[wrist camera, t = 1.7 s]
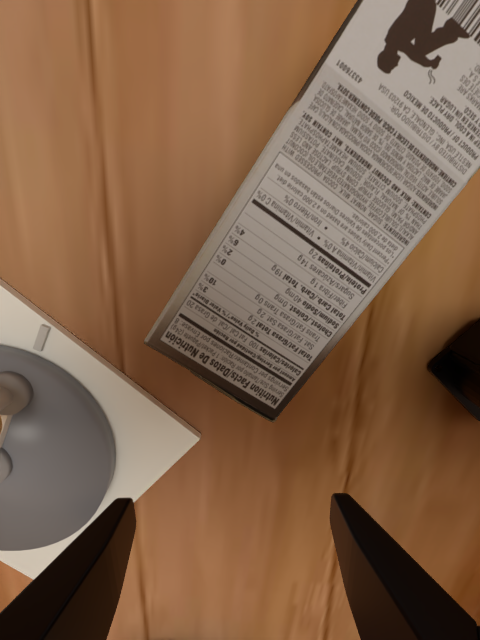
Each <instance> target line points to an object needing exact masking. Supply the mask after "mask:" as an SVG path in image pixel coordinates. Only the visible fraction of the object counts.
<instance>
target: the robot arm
mask: <svg viewBox="0 0 480 640" xmlns="http://www.w3.org/2000/svg"><path fill="white" fill-rule="evenodd" d="M438 365H439V367H438V368H437V369H435V367H436V366H438ZM428 370H429V371H430V372H431V373H432V374H433V375H434V376H435V377H436V378H437V379H438V381H439V382H440V383H441V384H442V385H443V386H444V387H445V388H446V389H447V390H448V391H449V392H450V393H451V394H452V395H453V396H454V397H455V398H456V399H457V400H458V401H459V402H460V403H461V404H462V405H463V406H464V407H465V408H466V409H467V410H468V411H469V412H470V413H471V414H472V415H473V416H474V417H475V418H476V419H477V420H478V421H480V320H479V321H478V322H477V323H476V324H475V325H473V326H472V327H471V328H470V329H469V330H468V331H466V332H465V333H464V334H463V335H462V336H460V337H459V338H458V339H457V340H456V341H455V342H453V343H452V344H451V345H450V346H449V347H447V348H446V349H445V350H444V351H443V352H441V353H440V354H439V355H438V356H437V357H436V358H434V359H433V360H432V361H431V362H430V363H429V365H428ZM330 525H331V530H332V534H333V539H334V543H335V547H336V552H337V556H338V561H339V565H340V569H341V574H342V578H343V582H344V587H345V591H346V595H347V598H348V601H349V605H350V608H351V611H352V614H353V617H354V620H355V623H356V626H357V629H358V633H359V636H360V639H361V640H480V626H477V624H476V622H475V620H474V619H473V618H472V617H471V616H470V615H469V614H468V613H467V612H466V611H465V610H464V609H463V608H462V607H461V606H460V605H459V604H458V603H457V602H456V601H455V600H454V599H453V598H452V597H451V596H450V595H449V594H448V593H447V592H446V591H445V590H444V589H443V588H442V587H441V586H440V585H439V584H438V583H437V582H436V581H435V580H434V579H433V578H432V577H431V576H430V575H429V574H428V573H427V572H426V571H425V570H424V569H423V568H422V567H421V566H420V565H419V564H418V563H417V562H416V561H415V560H414V559H413V558H412V557H411V556H410V555H409V554H408V553H407V552H406V551H405V550H404V549H403V548H402V547H401V546H400V545H399V544H398V543H397V542H396V541H395V540H394V539H393V538H392V537H391V536H390V535H389V534H388V533H387V532H386V531H385V530H384V529H383V528H382V527H381V526H380V525H379V524H378V523H377V522H376V521H375V520H374V519H373V518H372V517H371V516H370V515H369V514H368V513H367V512H366V511H365V510H364V509H363V508H362V507H361V506H360V505H359V504H358V503H357V502H356V501H355V500H354V499H353V498H352V497H351V496H350V495H349V494H347V493H334V494H333V495H332V497H331V508H330ZM135 529H136V517H135V509H134V502H133V499H132V498H130V497H129V498H117V499H115V500H114V501H113V502H112V503H111V504H110V505H109V506H108V507H107V508H106V509H105V510H104V511H103V512H102V513H101V514H100V515H99V516H98V517H97V518H96V519H95V520H94V521H93V522H92V523H91V524H90V525H89V526H88V527H87V528H86V529H85V530H84V531H83V532H82V533H81V534H80V535H79V536H78V537H77V538H76V539H75V540H73V541H72V542H71V543H70V544H69V545H68V546H67V547H66V548H65V549H64V550H63V551H62V552H61V553H60V554H59V555H58V556H57V557H56V558H55V559H54V560H53V561H52V562H51V563H50V564H49V565H48V566H47V567H46V568H45V569H44V570H43V571H42V572H41V573H40V574H39V575H38V576H37V577H36V578H35V579H34V580H33V581H32V582H31V583H30V584H29V585H28V586H27V587H26V588H25V589H24V590H23V591H22V592H21V593H20V594H19V595H18V596H17V597H16V598H15V599H14V600H13V601H12V602H11V603H10V604H9V605H8V606H7V607H6V608H5V609H4V610H3V611H2V612H1V613H0V640H106V639H107V636H108V633H109V630H110V627H111V624H112V621H113V618H114V615H115V612H116V608H117V605H118V602H119V598H120V594H121V590H122V586H123V582H124V577H125V573H126V569H127V564H128V560H129V556H130V551H131V547H132V543H133V539H134V534H135Z"/></svg>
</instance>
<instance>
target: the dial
mask: <svg viewBox="0 0 480 640" xmlns="http://www.w3.org/2000/svg"><path fill="white" fill-rule="evenodd" d="M115 461H116V452H115V444H114V439H113V435H112V432H111V428H110V426H109V424H108V421H107V419H106V417H105V415H104V413H103V412H102V410H101V408H100V407H99V405H98V404H97V402H96V401H95V400H94V399H93V397H92V396H91V395H90V393H89V392H88V391H87V390H86V389H85V388H84V387H83V386H82V385H81V384H80V383H79V382H78V381H77V380H75V379H74V378H73V377H72V376H70V375H69V374H68V373H67V372H65V371H64V370H62V369H61V368H59V367H57V366H56V365H54V364H53V363H51V362H49V361H47V360H45V359H43V358H41V357H39V356H37V355H34V354H32V353H29V352H26V351H23V350H20V349H17V348H13V347H8V346H4V345H0V551H22V550H31V549H36V548H41V547H46V546H49V545H51V544H54V543H57V542H59V541H62V540H64V539H66V538H68V537H70V536H71V535H73V534H74V533H76V532H77V531H79V530H80V529H81V528H82V527H83V526H84V525H85V524H87V523H88V522H89V520H90V519H91V518H92V517H93V515H94V514H95V513H96V511H97V509H98V508H99V506H100V504H101V502H102V500H103V498H104V496H105V495H106V493H107V491H108V489H109V486H110V484H111V481H112V478H113V475H114V470H115Z"/></svg>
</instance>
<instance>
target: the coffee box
mask: <svg viewBox="0 0 480 640" xmlns="http://www.w3.org/2000/svg"><path fill="white" fill-rule="evenodd" d="M479 168H480V0H358V1H357V2H356V4H355V5H354V7H353V8H352V10H351V11H350V13H349V15H348V16H347V18H346V19H345V21H344V22H343V24H342V26H341V27H340V29H339V30H338V32H337V33H336V35H335V36H334V38H333V40H332V41H331V43H330V44H329V46H328V48H327V49H326V51H325V52H324V54H323V56H322V57H321V59H320V60H319V62H318V64H317V65H316V67H315V68H314V70H313V72H312V73H311V75H310V76H309V78H308V79H307V81H306V83H305V84H304V86H303V87H302V89H301V91H300V92H299V94H298V95H297V97H296V99H295V100H294V102H293V103H292V105H291V106H290V108H289V110H288V111H287V113H286V114H285V116H284V117H283V119H282V121H281V122H280V124H279V125H278V127H277V129H276V130H275V132H274V133H273V135H272V137H271V138H270V140H269V141H268V143H267V145H266V146H265V148H264V149H263V151H262V153H261V154H260V156H259V157H258V159H257V161H256V162H255V164H254V166H253V167H252V169H251V170H250V172H249V173H248V175H247V177H246V178H245V180H244V181H243V183H242V184H241V186H240V187H239V189H238V191H237V192H236V194H235V195H234V197H233V199H232V200H231V202H230V204H229V205H228V207H227V208H226V210H225V212H224V213H223V215H222V216H221V218H220V219H219V221H218V223H217V224H216V226H215V227H214V229H213V231H212V232H211V234H210V235H209V237H208V238H207V240H206V242H205V243H204V245H203V246H202V248H201V250H200V251H199V253H198V254H197V256H196V258H195V259H194V261H193V263H192V264H191V266H190V267H189V269H188V271H187V272H186V274H185V275H184V277H183V279H182V280H181V282H180V283H179V285H178V287H177V288H176V290H175V291H174V293H173V295H172V296H171V298H170V300H169V301H168V303H167V304H166V306H165V308H164V309H163V311H162V313H161V314H160V316H159V317H158V319H157V321H156V322H155V324H154V326H153V327H152V329H151V330H150V332H149V334H148V335H147V337H146V338H145V340H144V344H146V345H147V346H149V347H151V348H153V349H154V350H156V351H158V352H160V353H161V354H163V355H165V356H166V357H168V358H169V359H171V360H173V361H175V362H176V363H178V364H180V365H181V366H183V367H185V368H187V369H188V370H190V371H191V373H193V374H194V375H195V376H197V377H198V378H200V379H202V380H203V381H204V382H206V383H207V384H209V385H211V386H212V387H214V388H215V389H217V390H218V391H220V392H221V393H223V394H225V395H226V396H228V397H229V398H231V399H233V400H234V401H236V402H237V403H239V404H241V405H243V406H244V407H246V408H248V409H249V410H251V411H253V412H254V413H256V414H258V415H260V416H261V417H263V418H265V419H267V420H269V421H271V422H275V421H276V419H277V417H278V416H279V415H280V413H281V412H282V411H283V409H284V408H285V407H286V406H287V404H288V403H289V402H290V401H291V400H292V398H293V397H294V396H295V395H296V394H297V392H298V391H299V390H300V389H301V387H302V386H303V385H304V384H305V382H306V381H307V380H308V379H309V378H310V376H311V375H312V374H313V373H314V371H315V370H316V369H317V368H318V366H319V365H320V364H321V363H322V361H323V360H324V359H325V358H326V357H327V355H328V354H329V353H330V352H331V350H332V349H333V348H334V347H335V345H336V344H337V343H338V342H339V340H340V339H341V338H342V337H343V336H344V334H345V333H346V332H347V331H348V329H349V328H350V327H351V326H352V324H353V323H354V322H355V321H356V319H357V318H358V317H359V316H360V314H361V313H362V312H363V311H364V309H365V308H366V307H367V306H368V305H369V303H370V302H371V301H372V300H373V298H374V297H375V296H376V295H377V293H378V292H379V291H380V290H381V288H382V287H383V286H384V285H385V284H386V282H387V281H388V280H389V279H390V277H391V276H392V275H393V274H394V272H395V271H396V270H397V269H398V267H399V266H400V265H401V264H402V262H403V261H404V260H405V259H406V257H407V256H408V255H409V254H410V252H411V251H412V250H413V249H414V248H415V246H416V245H417V244H418V243H419V242H420V240H421V239H422V238H423V237H424V235H425V234H426V233H427V232H428V231H429V229H430V228H431V227H432V226H433V224H434V223H435V222H436V221H437V220H438V218H439V217H440V216H441V215H442V213H443V212H444V211H445V210H446V208H447V207H448V206H449V205H450V203H451V202H452V201H453V200H454V199H455V197H456V196H457V195H458V194H459V193H460V191H461V190H462V189H463V188H464V187H465V186H466V184H467V183H468V181H469V180H470V179H471V178H472V176H473V175H474V174H475V173H476V172H477V170H478V169H479Z"/></svg>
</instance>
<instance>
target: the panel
mask: <svg viewBox="0 0 480 640" xmlns="http://www.w3.org/2000/svg"><path fill="white" fill-rule="evenodd" d="M0 345H4V346H8V347H13V348H17V349H20V350H23V351H26V352H29V353H32V354H34V355H37V356H39V357H41V358H43V359H45V360H47V361H49V362H51V363H53V364H54V365H56V366H57V367H59V368H61V369H62V370H64V371H65V372H67V373H68V374H69V375H70V376H72V377H73V378H74V379H75V380H77V381H78V382H79V383H80V384H81V385H82V386H83V387H84V388H85V389H86V390H87V391H88V392H89V393H90V395H91V396H92V397H93V399H94V400H95V401H96V402H97V404H98V405H99V407H100V408H101V410H102V412H103V413H104V415H105V417H106V419H107V421H108V424H109V426H110V428H111V432H112V435H113V439H114V444H115V452H116V461H115V470H114V475H113V478H112V481H111V484H110V486H109V489H108V491H107V493H106V495H105V496H104V498H103V500H102V502H101V504H100V506H99V508H98V509H97V511H96V513H95V514H94V515H93V517H92V518H91V519H90V520H89V522H88V523H87V524H85V525H84V526H83V527H82V528H81V529H80V530H79V531H77V532H76V533H74V534H73V535H71V536H70V537H68V538H66V539H64V540H62V541H59V542H57V543H54V544H51V545H49V546H46V547H41V548H36V549H31V550H22V551H0V561H2V562H4V563H5V564H7V565H9V566H11V567H12V568H14V569H16V570H18V571H19V572H21V573H23V574H25V575H26V576H28V577H30V578H32V579H33V580H34V579H35V578H36V577H37V576H38V575H39V574H40V573H41V572H42V571H43V570H44V569H45V568H46V567H47V566H48V565H49V564H50V563H51V562H52V561H53V560H54V559H55V558H56V557H57V556H58V555H59V554H60V553H61V552H62V551H63V550H64V549H65V548H66V547H67V546H68V545H69V544H70V543H71V542H72V541H73V540H75V539H76V538H77V537H78V536H79V535H80V534H81V533H82V532H83V531H84V530H85V529H86V528H87V527H88V526H89V525H90V524H91V523H92V522H93V521H94V520H95V519H96V518H97V517H98V516H99V515H100V514H101V513H102V512H103V511H104V510H105V509H106V508H107V507H108V506H109V505H110V504H111V503H112V502H113V501H114V500H115V499H117V498H129V497H130V498H132V499H133V502H135V501H136V500H137V499H138V498H139V497H140V496H141V495H142V494H143V493H144V492H145V491H146V490H147V489H148V488H150V487H151V486H152V485H153V484H154V483H155V482H156V481H157V480H158V479H159V478H160V477H161V476H162V475H163V474H164V473H165V472H166V471H167V470H168V469H169V468H170V467H171V466H173V465H174V464H175V463H176V462H177V461H178V460H179V459H180V458H181V457H182V456H183V455H184V454H185V453H186V452H187V451H188V450H189V449H190V448H191V447H192V446H193V445H195V444H196V443H197V442H198V441H199V440H200V438H201V433H199V432H198V431H197V430H196V429H194V428H193V427H192V426H190V425H189V424H188V423H187V422H185V421H184V420H183V419H181V418H180V417H179V416H177V415H176V414H175V413H174V412H172V411H171V410H170V409H168V408H167V407H166V406H165V405H163V404H162V403H161V402H159V401H158V400H157V399H156V398H154V397H153V396H152V395H150V394H149V393H148V392H146V391H145V390H144V389H143V388H141V387H140V386H139V385H137V384H136V383H135V382H134V381H132V380H131V379H130V378H128V377H127V376H126V375H124V374H123V373H122V372H121V371H119V370H118V369H117V368H115V367H114V366H113V365H112V364H110V363H109V362H108V361H106V360H105V359H104V358H103V357H101V356H100V355H99V354H97V353H96V352H95V351H93V350H92V349H91V348H90V347H88V346H87V345H86V344H84V343H83V342H82V341H81V340H79V339H78V338H77V337H75V336H74V335H73V334H72V333H70V332H69V331H68V330H66V329H65V328H64V327H62V326H61V325H60V324H59V323H57V322H56V321H55V320H53V319H52V318H51V317H50V316H48V315H47V314H46V313H44V312H43V311H42V310H40V309H39V308H38V307H37V306H35V305H34V304H33V303H31V302H30V301H29V300H28V299H26V298H25V297H24V296H22V295H21V294H20V293H19V292H17V291H16V290H15V289H13V288H12V287H11V286H9V285H8V284H7V283H6V282H4V281H3V280H2V279H0Z"/></svg>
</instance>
